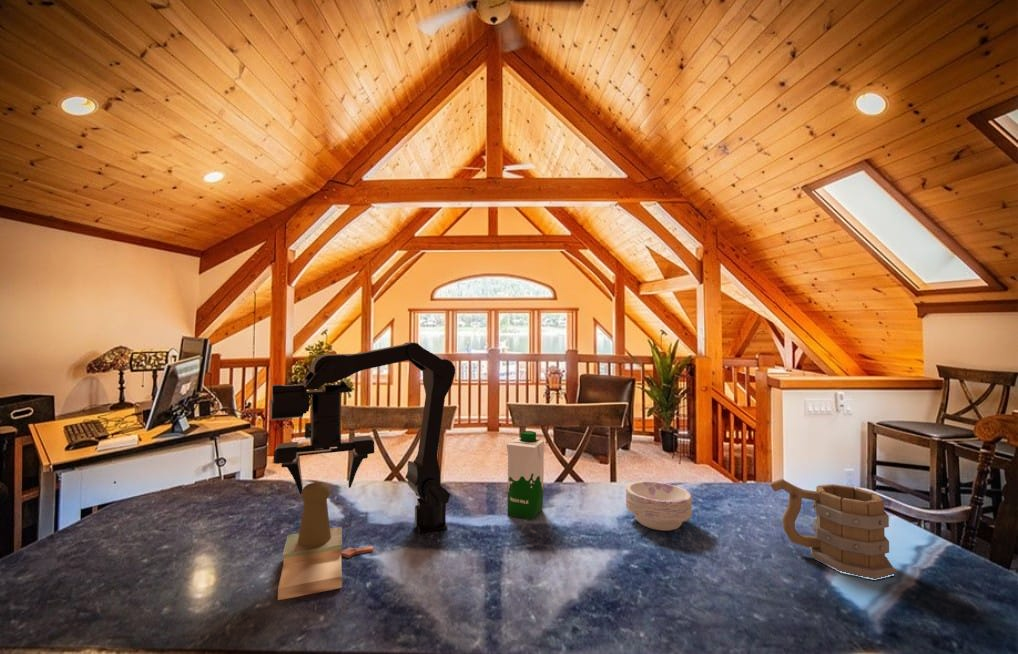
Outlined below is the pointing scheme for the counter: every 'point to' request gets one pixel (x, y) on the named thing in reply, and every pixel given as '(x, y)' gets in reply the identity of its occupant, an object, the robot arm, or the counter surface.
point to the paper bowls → (659, 504)
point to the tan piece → (313, 566)
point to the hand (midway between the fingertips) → (325, 490)
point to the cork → (314, 515)
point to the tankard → (842, 528)
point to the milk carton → (525, 475)
